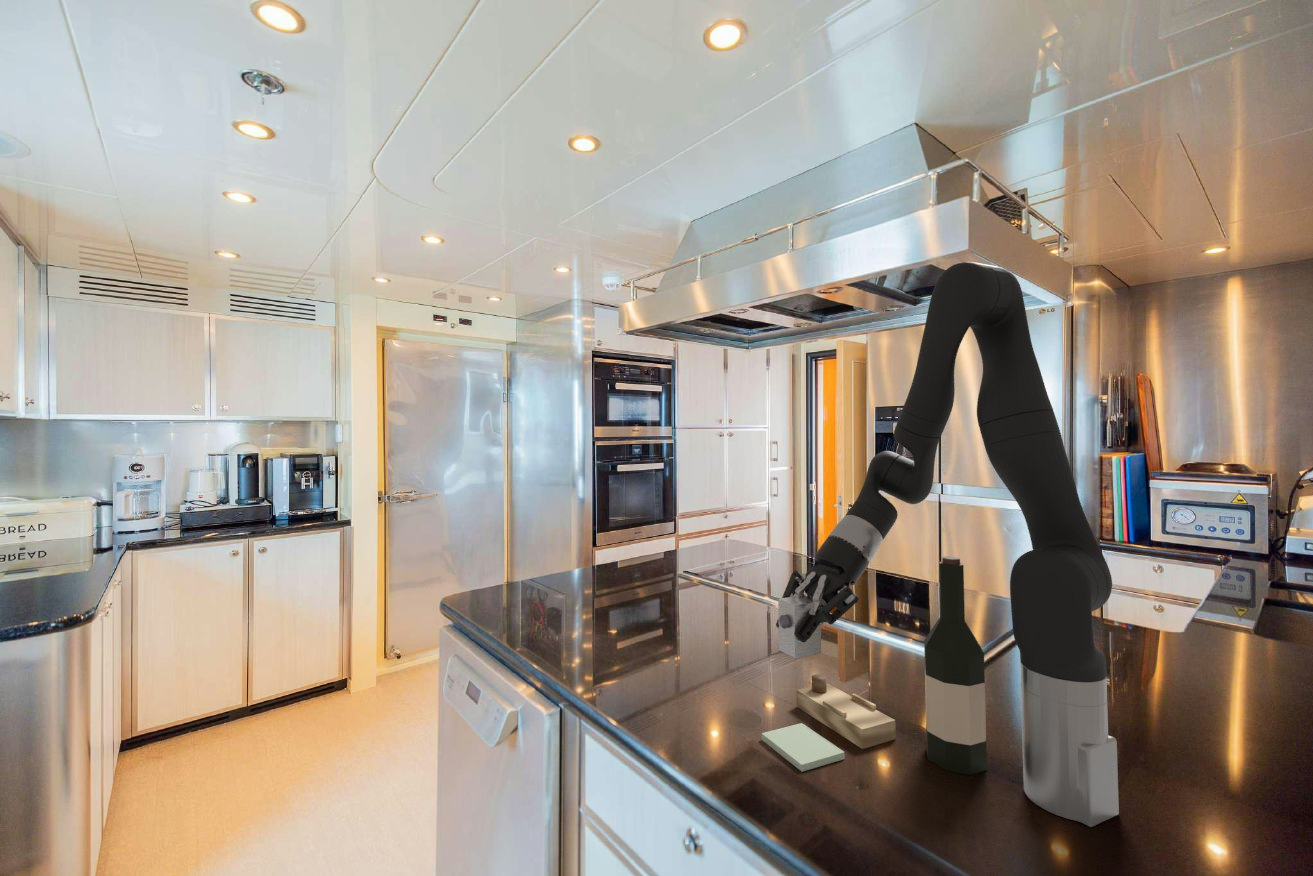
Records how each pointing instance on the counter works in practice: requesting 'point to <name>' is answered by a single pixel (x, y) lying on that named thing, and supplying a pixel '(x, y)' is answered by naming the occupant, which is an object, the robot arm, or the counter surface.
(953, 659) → the wine bottle
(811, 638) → the grey upright block
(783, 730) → the pad
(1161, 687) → the counter surface
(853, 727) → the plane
